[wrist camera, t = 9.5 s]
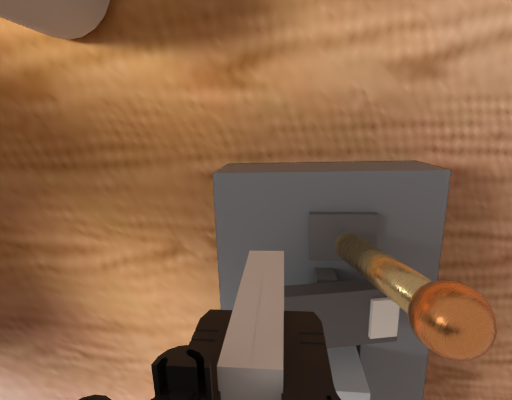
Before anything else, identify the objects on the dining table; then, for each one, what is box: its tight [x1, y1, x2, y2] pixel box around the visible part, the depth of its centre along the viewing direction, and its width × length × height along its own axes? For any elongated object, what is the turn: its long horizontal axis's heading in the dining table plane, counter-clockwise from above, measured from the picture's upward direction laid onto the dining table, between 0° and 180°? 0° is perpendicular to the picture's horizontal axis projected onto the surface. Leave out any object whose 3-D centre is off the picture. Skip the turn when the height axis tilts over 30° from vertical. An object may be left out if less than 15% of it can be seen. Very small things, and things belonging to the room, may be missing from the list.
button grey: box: [327, 345, 370, 400], centre depth 20 cm, size 4×4×6 cm
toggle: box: [335, 232, 497, 360], centre depth 13 cm, size 3×3×9 cm
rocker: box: [284, 279, 400, 348], centre depth 17 cm, size 8×4×2 cm, turn 92°
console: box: [212, 161, 451, 400], centre depth 22 cm, size 14×24×6 cm, turn 2°
